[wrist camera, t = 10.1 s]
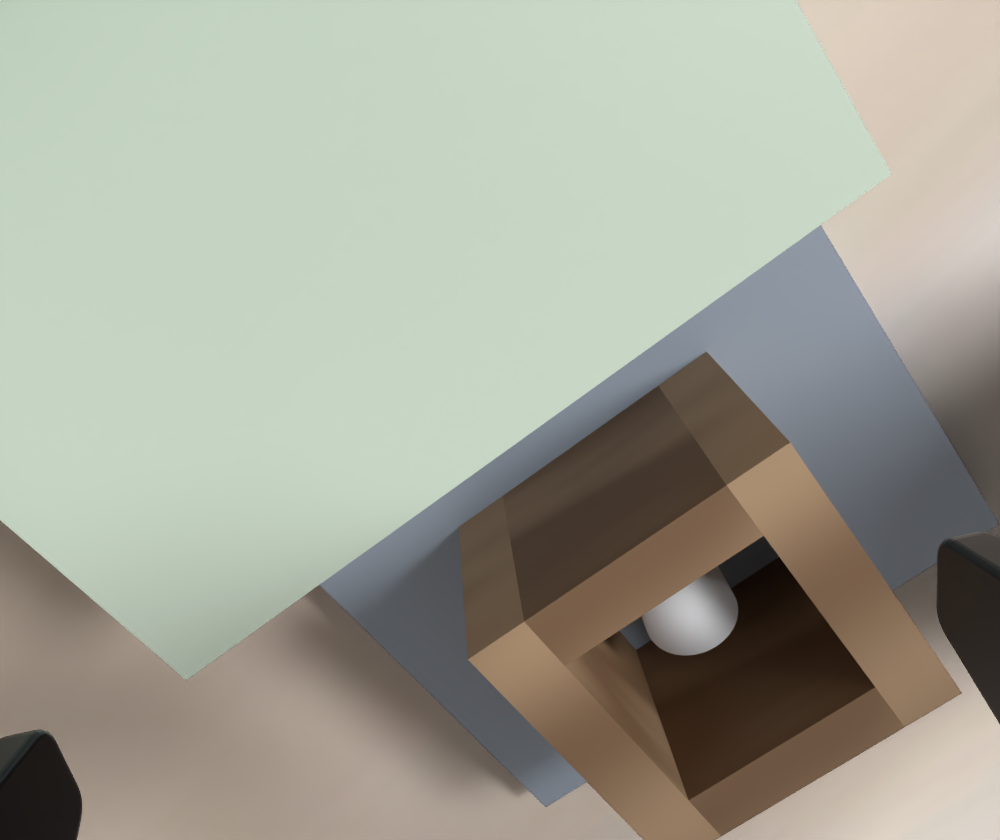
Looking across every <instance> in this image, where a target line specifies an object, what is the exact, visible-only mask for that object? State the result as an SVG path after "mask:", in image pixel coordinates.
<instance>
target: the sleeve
mask: <svg viewBox="0 0 1000 840" xmlns="http://www.w3.org/2000/svg"><path fill="white" fill-rule="evenodd" d="M763 536H764V537H765V538H766V539H767V541H768V542H769V543H770V545H771V546H772V548H773V549H774V550H775V552H776V553H777V554H778V556H779V557H778V558H777V559H775V560H774V561H772V562H771V563H769V564H767V565H766V566H764V567H763V568H761V569H760V570H758V571H757V572H755V573H754V574H752V575H751V576H749V577H747V578H746V579H744V580H743V581H741V582H740V583H738V584H737V585H735V586H734V587H732V588H731V590H732V592H733V594H734V596H735V598H736V600H737V604H738V617H737V621H736V624H735V626H734V628H733V630H732V632H731V633H730V634H729V636H728V637H727V638H726V639H725V640H724V641H723V642H722V643H720V644H719V645H718V646H716V647H714V648H713V649H711V650H709V651H706V652H703V653H700V654H696V655H675V654H671V653H669V652H666V651H664V650H662V649H660V648H659V647H658V646H657V645H656V644H655V643H654V642H653V641H652V640H650V641H649V642H647V643H646V644H644V645H643V646H641V647H640V648H638V649H637V650H636V649H635V648H634V647H633V646H632V645H631V644H630V642H629V641H628V640H627V639H626V638H625V637H624V635H623V634H622V633H621V632H620V631H619V630H621V629H622V628H624V627H626V626H627V625H629V624H630V623H632V622H633V621H635V620H636V619H638V618H639V617H641V616H642V615H644V614H645V613H647V612H648V611H650V610H651V609H653V608H654V607H656V606H657V605H659V604H661V603H662V602H664V601H665V600H667V599H668V598H670V597H671V596H673V595H674V594H676V593H677V592H679V591H680V590H682V589H683V588H685V587H686V586H688V585H689V584H691V583H693V582H694V581H696V580H697V579H699V578H700V577H702V576H703V575H705V574H706V573H708V572H709V571H711V570H712V569H714V568H715V567H717V566H718V565H720V564H721V563H723V562H724V561H726V560H728V559H729V558H731V557H732V556H734V555H735V554H737V553H738V552H740V551H741V550H743V549H744V548H746V547H747V546H749V545H750V544H752V543H753V542H755V541H756V540H758V539H760V538H761V537H763ZM459 538H460V552H461V567H462V581H463V596H464V611H465V625H466V640H467V654H468V660H469V661H470V662H471V663H472V664H473V665H474V666H475V667H476V668H477V669H478V670H479V672H480V673H481V674H482V675H483V676H484V677H485V678H486V679H487V680H488V681H489V682H490V683H491V684H492V685H493V686H494V687H495V688H496V689H497V690H498V691H499V692H500V693H501V694H502V695H503V696H504V697H505V698H506V699H507V700H508V701H509V702H510V703H511V704H512V705H513V706H514V707H515V708H516V709H517V710H518V712H519V713H520V714H521V715H522V716H523V717H524V718H525V719H526V720H527V721H528V722H529V723H530V724H531V725H532V726H533V727H534V728H535V729H536V730H537V731H538V732H539V733H540V734H541V735H542V736H543V737H544V738H545V739H546V740H547V741H548V742H549V743H550V744H551V745H552V746H553V747H554V748H555V749H556V750H557V752H558V753H559V754H560V755H561V756H562V757H563V758H564V759H565V760H566V761H567V762H568V763H569V764H570V765H571V766H572V767H573V768H574V769H575V770H576V771H577V772H578V773H579V774H580V775H581V776H582V777H583V778H584V779H585V780H586V781H587V782H588V783H589V784H590V785H591V786H592V787H593V788H594V789H595V790H596V791H597V793H598V794H599V795H600V796H601V797H602V798H603V799H604V800H605V801H606V802H607V803H608V804H609V805H610V806H611V807H612V808H613V809H614V810H615V811H616V812H617V813H618V814H619V815H620V816H621V817H622V818H623V819H624V820H625V821H626V822H627V823H628V824H629V825H630V826H631V827H632V828H633V829H634V830H635V831H636V833H637V834H638V835H639V836H640V837H641V838H642V839H643V840H716V839H717V838H719V837H721V836H722V835H724V834H726V833H727V832H729V831H731V830H732V829H734V828H736V827H738V826H739V825H741V824H743V823H744V822H746V821H748V820H749V819H751V818H753V817H754V816H756V815H758V814H759V813H761V812H763V811H764V810H766V809H768V808H770V807H771V806H773V805H775V804H776V803H778V802H780V801H781V800H783V799H785V798H786V797H788V796H790V795H791V794H793V793H795V792H796V791H798V790H800V789H802V788H803V787H805V786H807V785H808V784H810V783H812V782H813V781H815V780H817V779H818V778H820V777H822V776H823V775H825V774H827V773H828V772H830V771H832V770H833V769H835V768H837V767H839V766H840V765H842V764H844V763H845V762H847V761H849V760H850V759H852V758H854V757H855V756H857V755H859V754H860V753H862V752H864V751H865V750H867V749H869V748H871V747H872V746H874V745H876V744H877V743H879V742H881V741H882V740H884V739H886V738H887V737H889V736H891V735H892V734H894V733H896V732H897V731H899V730H901V729H903V728H904V727H906V726H908V725H909V724H911V723H913V722H914V721H916V720H918V719H919V718H921V717H923V716H924V715H926V714H928V713H929V712H931V711H933V710H935V709H936V708H938V707H940V706H941V705H943V704H945V703H946V702H948V701H950V700H951V699H953V698H955V697H956V696H958V695H960V694H961V693H962V692H961V691H960V689H959V688H958V686H957V685H956V684H955V682H954V681H953V679H952V678H951V676H950V675H949V673H948V672H947V670H946V669H945V668H944V666H943V665H942V663H941V662H940V660H939V659H938V657H937V656H936V654H935V653H934V651H933V650H932V649H931V647H930V646H929V644H928V643H927V641H926V640H925V638H924V637H923V635H922V634H921V632H920V631H919V630H918V628H917V627H916V625H915V624H914V622H913V621H912V619H911V618H910V616H909V615H908V613H907V612H906V611H905V609H904V608H903V606H902V605H901V603H900V602H899V600H898V599H897V597H896V596H895V595H894V593H893V592H892V590H891V589H890V587H889V586H888V584H887V583H886V581H885V580H884V578H883V577H882V576H881V574H880V573H879V571H878V570H877V568H876V567H875V565H874V564H873V562H872V561H871V559H870V558H869V557H868V555H867V554H866V552H865V551H864V549H863V548H862V546H861V545H860V543H859V542H858V540H857V539H856V538H855V536H854V535H853V533H852V532H851V530H850V529H849V527H848V526H847V524H846V523H845V522H844V520H843V519H842V517H841V516H840V514H839V513H838V511H837V510H836V508H835V507H834V505H833V504H832V503H831V501H830V500H829V498H828V497H827V495H826V494H825V492H824V491H823V489H822V488H821V486H820V485H819V484H818V482H817V481H816V479H815V478H814V476H813V475H812V473H811V472H810V470H809V469H808V467H807V466H806V465H805V463H804V462H803V460H802V459H801V457H800V456H799V454H798V453H797V451H796V450H795V449H794V447H793V446H792V444H791V443H790V442H789V440H788V439H787V438H786V437H785V436H784V435H783V434H782V433H781V432H780V431H779V430H778V428H777V427H776V426H775V425H774V424H773V423H772V422H771V421H770V420H769V419H768V418H767V417H766V415H765V414H764V413H763V412H762V411H761V410H760V409H759V408H758V407H757V406H756V405H755V404H754V402H753V401H752V400H751V399H750V398H749V397H748V396H747V395H746V394H745V393H744V392H743V391H742V389H741V388H740V387H739V386H738V385H737V384H736V383H735V382H734V381H733V380H732V379H731V377H730V376H729V375H728V374H727V373H726V372H725V371H724V370H723V369H722V368H721V367H720V366H719V364H718V363H717V362H716V361H715V360H714V359H713V358H712V357H711V356H710V355H709V354H708V353H707V352H705V353H704V354H702V355H701V356H700V357H698V358H697V359H695V360H694V361H692V362H691V363H690V364H688V365H687V366H685V367H684V368H683V369H681V370H680V371H678V372H677V373H675V374H674V375H673V376H671V377H670V378H668V379H667V380H666V381H664V382H663V383H661V384H660V385H659V386H657V387H656V388H654V389H653V390H651V391H650V392H649V393H647V394H646V395H644V396H643V397H642V398H640V399H639V400H637V401H636V402H635V403H633V404H632V405H630V406H629V407H627V408H626V409H625V410H623V411H622V412H620V413H619V414H618V415H616V416H615V417H613V418H612V419H611V420H609V421H608V422H606V423H605V424H603V425H602V426H601V427H599V428H598V429H596V430H595V431H594V432H592V433H591V434H589V435H588V436H586V437H585V438H584V439H582V440H581V441H579V442H578V443H577V444H575V445H574V446H572V447H571V448H570V449H568V450H567V451H565V452H564V453H562V454H561V455H560V456H558V457H557V458H555V459H554V460H553V461H551V462H550V463H548V464H547V465H546V466H544V467H543V468H541V469H540V470H538V471H537V472H536V473H534V474H533V475H531V476H530V477H529V478H527V479H526V480H524V481H523V482H522V483H520V484H519V485H517V486H516V487H514V488H513V489H512V490H510V491H509V492H507V493H506V494H505V495H503V496H502V497H500V498H499V499H498V500H496V501H495V502H493V503H492V504H490V505H489V506H488V507H486V508H485V509H483V510H482V511H481V512H479V513H478V514H476V515H475V516H473V517H472V518H471V519H469V520H468V521H466V522H465V523H464V524H462V525H461V526H459Z"/></svg>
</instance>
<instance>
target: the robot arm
mask: <svg viewBox="0 0 1000 840" xmlns="http://www.w3.org/2000/svg"><path fill="white" fill-rule="evenodd" d="M937 614H938V618H939V622H940V624H941V627H942V629H943V631H944V633H945V635H946V636H947V638H948V640H949V641H950V643H951V645H952V646H953V648H954V650H955V651H956V653H957V654H958V656H959V658H960V659H961V661H962V663H963V664H964V666H965V668H966V669H967V671H968V673H969V674H970V676H971V678H972V679H973V681H974V682H975V684H976V686H977V687H978V689H979V691H980V692H981V694H982V696H983V697H984V699H985V701H986V702H987V704H988V705H989V707H990V709H991V710H992V712H993V714H994V715H995V717H996V719H997V720H998V722H999V724H1000V536H996V535H993V534H990V533H986V532H975V533H970V534H965V535H961V536H956V537H951V538H947V539H945V540H944V541H943V542H941V544H940V545H939V548H938V552H937ZM81 815H82V799H81V794H80V790H79V788H78V785H77V783H76V781H75V779H74V777H73V775H72V773H71V771H70V769H69V767H68V765H67V763H66V761H65V759H64V757H63V755H62V753H61V751H60V749H59V747H58V744H57V742H56V741H55V739H54V737H53V736H52V735H51V734H50V733H49V732H47V731H45V730H41V729H40V730H33V731H29V732H24V733H19V734H14V735H10V736H6V737H3V738H1V739H0V840H77V837H78V832H79V827H80V821H81Z"/></svg>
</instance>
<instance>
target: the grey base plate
mask: <svg viewBox="0 0 1000 840" xmlns="http://www.w3.org/2000/svg"><path fill="white" fill-rule="evenodd" d="M705 352H707V353H708V354H709V355H710V356H711V357H712V358H713V359H714V360H715V361H716V362H717V363H718V364H719V366H720V367H721V368H722V369H723V370H724V371H725V372H726V373H727V374H728V375H729V376H730V377H731V379H732V380H733V381H734V382H735V383H736V384H737V385H738V386H739V387H740V388H741V389H742V391H743V392H744V393H745V394H746V395H747V396H748V397H749V398H750V399H751V400H752V401H753V402H754V404H755V405H756V406H757V407H758V408H759V409H760V410H761V411H762V412H763V413H764V414H765V415H766V417H767V418H768V419H769V420H770V421H771V422H772V423H773V424H774V425H775V426H776V427H777V428H778V430H779V431H780V432H781V433H782V434H783V435H784V436H785V437H786V438H787V439H788V440H789V442H790V443H791V444H792V446H793V447H794V449H795V450H796V451H797V453H798V454H799V456H800V457H801V459H802V460H803V462H804V463H805V465H806V466H807V467H808V469H809V470H810V472H811V473H812V475H813V476H814V478H815V479H816V481H817V482H818V484H819V485H820V486H821V488H822V489H823V491H824V492H825V494H826V495H827V497H828V498H829V500H830V501H831V503H832V504H833V505H834V507H835V508H836V510H837V511H838V513H839V514H840V516H841V517H842V519H843V520H844V522H845V523H846V524H847V526H848V527H849V529H850V530H851V532H852V533H853V535H854V536H855V538H856V539H857V540H858V542H859V543H860V545H861V546H862V548H863V549H864V551H865V552H866V554H867V555H868V557H869V558H870V559H871V561H872V562H873V564H874V565H875V567H876V568H877V570H878V571H879V573H880V574H881V576H882V577H883V578H884V580H885V581H886V583H887V584H888V586H889V587H890V589H891V590H892V591H893V590H894V589H896V588H897V587H899V586H901V585H902V584H904V583H905V582H907V581H909V580H910V579H912V578H913V577H915V576H917V575H918V574H920V573H921V572H923V571H925V570H926V569H928V568H929V567H931V566H933V565H934V564H936V563H937V552H938V548H939V545H940V544H941V542H943V541H944V540H945V539H947V538H951V537H956V536H961V535H965V534H970V533H975V532H987V531H989V530H990V529H992V528H993V527H995V526H997V525H998V524H999V523H998V521H997V519H996V518H995V516H994V514H993V513H992V511H991V509H990V508H989V506H988V504H987V503H986V501H985V499H984V498H983V496H982V494H981V493H980V491H979V489H978V488H977V486H976V484H975V483H974V481H973V479H972V477H971V476H970V474H969V472H968V471H967V469H966V467H965V466H964V464H963V462H962V461H961V459H960V457H959V456H958V454H957V452H956V451H955V449H954V447H953V446H952V444H951V442H950V441H949V439H948V437H947V436H946V434H945V432H944V431H943V429H942V427H941V426H940V424H939V422H938V421H937V419H936V417H935V416H934V414H933V412H932V411H931V409H930V407H929V405H928V404H927V402H926V400H925V399H924V397H923V395H922V394H921V392H920V390H919V389H918V387H917V385H916V384H915V382H914V380H913V379H912V377H911V375H910V374H909V372H908V370H907V369H906V367H905V365H904V364H903V362H902V360H901V359H900V357H899V355H898V354H897V352H896V350H895V349H894V347H893V345H892V344H891V342H890V340H889V339H888V337H887V335H886V333H885V332H884V330H883V328H882V327H881V325H880V323H879V322H878V320H877V318H876V317H875V315H874V313H873V312H872V310H871V308H870V307H869V305H868V303H867V302H866V300H865V298H864V297H863V295H862V293H861V292H860V290H859V288H858V287H857V285H856V283H855V282H854V280H853V278H852V277H851V275H850V273H849V272H848V270H847V268H846V267H845V265H844V263H843V262H842V260H841V258H840V256H839V255H838V253H837V251H836V250H835V248H834V246H833V245H832V243H831V241H830V240H829V238H828V236H827V235H826V233H825V231H824V230H823V228H822V226H821V225H820V226H818V227H817V228H816V229H814V230H813V231H812V232H810V233H809V234H807V235H806V236H805V237H803V238H802V239H800V240H799V241H798V242H796V243H795V244H793V245H792V246H791V247H789V248H788V249H786V250H785V251H784V252H782V253H781V254H779V255H778V256H777V257H775V258H774V259H772V260H771V261H770V262H768V263H767V264H766V265H764V266H763V267H761V268H760V269H759V270H757V271H756V272H754V273H753V274H752V275H750V276H749V277H747V278H746V279H745V280H743V281H742V282H740V283H739V284H738V285H736V286H735V287H733V288H732V289H731V290H729V291H728V292H727V293H725V294H724V295H722V296H721V297H720V298H718V299H717V300H715V301H714V302H713V303H711V304H710V305H708V306H707V307H706V308H704V309H703V310H701V311H700V312H699V313H697V314H696V315H694V316H693V317H692V318H690V319H689V320H688V321H686V322H685V323H683V324H682V325H681V326H679V327H678V328H676V329H675V330H674V331H672V332H671V333H669V334H668V335H667V336H665V337H664V338H662V339H661V340H660V341H658V342H657V343H655V344H654V345H653V346H651V347H650V348H648V349H647V350H646V351H644V352H643V353H642V354H640V355H639V356H637V357H636V358H635V359H633V360H632V361H630V362H629V363H628V364H626V365H625V366H623V367H622V368H621V369H619V370H618V371H616V372H615V373H614V374H612V375H611V376H609V377H608V378H607V379H605V380H604V381H603V382H601V383H600V384H598V385H597V386H596V387H594V388H593V389H591V390H590V391H589V392H587V393H586V394H584V395H583V396H582V397H580V398H579V399H577V400H576V401H575V402H573V403H572V404H570V405H569V406H568V407H566V408H565V409H564V410H562V411H561V412H559V413H558V414H557V415H555V416H554V417H552V418H551V419H550V420H548V421H547V422H545V423H544V424H543V425H541V426H540V427H538V428H537V429H536V430H534V431H533V432H531V433H530V434H529V435H527V436H526V437H524V438H523V439H522V440H520V441H519V442H518V443H516V444H515V445H513V446H512V447H511V448H509V449H508V450H506V451H505V452H504V453H502V454H501V455H499V456H498V457H497V458H495V459H494V460H492V461H491V462H490V463H488V464H487V465H485V466H484V467H483V468H481V469H480V470H479V471H477V472H476V473H474V474H473V475H472V476H470V477H469V478H467V479H466V480H465V481H463V482H462V483H460V484H459V485H458V486H456V487H455V488H453V489H452V490H451V491H449V492H448V493H446V494H445V495H444V496H442V497H441V498H440V499H438V500H437V501H435V502H434V503H433V504H431V505H430V506H428V507H427V508H426V509H424V510H423V511H421V512H420V513H419V514H417V515H416V516H414V517H413V518H412V519H410V520H409V521H407V522H406V523H405V524H403V525H402V526H400V527H399V528H398V529H396V530H395V531H394V532H392V533H391V534H389V535H388V536H387V537H385V538H384V539H382V540H381V541H380V542H378V543H377V544H375V545H374V546H373V547H371V548H370V549H368V550H367V551H366V552H364V553H363V554H361V555H360V556H359V557H357V558H356V559H355V560H353V561H352V562H350V563H349V564H348V565H346V566H345V567H343V568H342V569H341V570H339V571H338V572H336V573H335V574H334V575H332V576H331V577H329V578H328V579H327V580H325V581H324V582H322V583H321V584H320V586H321V587H322V588H323V589H324V590H325V591H326V592H327V593H328V594H329V595H330V596H331V597H332V598H333V599H334V600H335V601H336V602H337V603H338V604H339V605H340V606H341V607H342V608H343V609H344V610H345V611H346V612H347V613H348V614H349V615H350V616H351V617H353V618H354V619H355V620H356V621H357V622H358V623H359V624H360V625H361V626H362V627H363V628H364V629H365V630H366V631H367V632H368V633H369V634H370V635H371V636H372V637H373V638H374V639H375V640H376V641H377V642H378V643H379V644H380V645H381V646H382V647H383V648H384V649H385V650H386V651H387V652H388V653H389V654H390V655H391V656H392V657H393V658H394V659H395V660H396V661H397V662H398V663H399V664H400V665H401V666H402V667H403V668H404V669H405V670H407V671H408V672H409V673H410V674H411V675H412V676H413V677H414V678H415V679H416V680H417V681H418V682H419V683H420V684H421V685H422V686H423V687H424V688H425V689H426V690H427V691H428V692H429V693H430V694H431V695H432V696H433V697H434V698H435V699H436V700H437V701H438V702H439V703H440V704H441V705H442V706H443V707H444V708H445V709H446V710H447V711H448V712H449V713H450V714H451V715H452V716H453V717H454V718H455V719H456V720H457V721H458V722H460V723H461V724H462V725H463V726H464V727H465V728H466V729H467V730H468V731H469V732H470V733H471V734H472V735H473V736H474V737H475V738H476V739H477V740H478V741H479V742H480V743H481V744H482V745H483V746H484V747H485V748H486V749H487V750H488V751H489V752H490V753H491V754H492V755H493V756H494V757H495V758H496V759H497V760H498V761H499V762H500V763H501V764H502V765H503V766H504V767H505V768H506V769H507V770H508V771H509V772H510V773H511V774H512V775H514V776H515V777H516V778H517V779H518V780H519V781H520V782H521V783H522V784H523V785H524V786H525V787H526V788H527V789H528V790H529V791H530V792H531V793H532V794H533V795H534V796H535V797H536V798H537V799H538V800H539V801H540V802H541V803H542V804H543V805H544V806H545V807H547V806H549V805H550V804H552V803H554V802H555V801H557V800H558V799H560V798H562V797H563V796H565V795H566V794H568V793H570V792H571V791H573V790H574V789H576V788H578V787H579V786H581V785H582V784H584V783H586V782H587V781H586V780H585V779H584V778H583V777H582V776H581V775H580V774H579V773H578V772H577V771H576V770H575V769H574V768H573V767H572V766H571V765H570V764H569V763H568V762H567V761H566V760H565V759H564V758H563V757H562V756H561V755H560V754H559V753H558V752H557V750H556V749H555V748H554V747H553V746H552V745H551V744H550V743H549V742H548V741H547V740H546V739H545V738H544V737H543V736H542V735H541V734H540V733H539V732H538V731H537V730H536V729H535V728H534V727H533V726H532V725H531V724H530V723H529V722H528V721H527V720H526V719H525V718H524V717H523V716H522V715H521V714H520V713H519V712H518V710H517V709H516V708H515V707H514V706H513V705H512V704H511V703H510V702H509V701H508V700H507V699H506V698H505V697H504V696H503V695H502V694H501V693H500V692H499V691H498V690H497V689H496V688H495V687H494V686H493V685H492V684H491V683H490V682H489V681H488V680H487V679H486V678H485V677H484V676H483V675H482V674H481V673H480V672H479V670H478V669H477V668H476V667H475V666H474V665H473V664H472V663H471V662H470V661H469V660H468V654H467V640H466V625H465V611H464V596H463V581H462V567H461V552H460V538H459V526H461V525H462V524H464V523H465V522H466V521H468V520H469V519H471V518H472V517H473V516H475V515H476V514H478V513H479V512H481V511H482V510H483V509H485V508H486V507H488V506H489V505H490V504H492V503H493V502H495V501H496V500H498V499H499V498H500V497H502V496H503V495H505V494H506V493H507V492H509V491H510V490H512V489H513V488H514V487H516V486H517V485H519V484H520V483H522V482H523V481H524V480H526V479H527V478H529V477H530V476H531V475H533V474H534V473H536V472H537V471H538V470H540V469H541V468H543V467H544V466H546V465H547V464H548V463H550V462H551V461H553V460H554V459H555V458H557V457H558V456H560V455H561V454H562V453H564V452H565V451H567V450H568V449H570V448H571V447H572V446H574V445H575V444H577V443H578V442H579V441H581V440H582V439H584V438H585V437H586V436H588V435H589V434H591V433H592V432H594V431H595V430H596V429H598V428H599V427H601V426H602V425H603V424H605V423H606V422H608V421H609V420H611V419H612V418H613V417H615V416H616V415H618V414H619V413H620V412H622V411H623V410H625V409H626V408H627V407H629V406H630V405H632V404H633V403H635V402H636V401H637V400H639V399H640V398H642V397H643V396H644V395H646V394H647V393H649V392H650V391H651V390H653V389H654V388H656V387H657V386H659V385H660V384H661V383H663V382H664V381H666V380H667V379H668V378H670V377H671V376H673V375H674V374H675V373H677V372H678V371H680V370H681V369H683V368H684V367H685V366H687V365H688V364H690V363H691V362H692V361H694V360H695V359H697V358H698V357H700V356H701V355H702V354H704V353H705ZM778 557H779V556H778V554H777V553H776V552H775V550H774V549H773V548H772V546H771V545H770V543H769V542H768V541H767V539H766V538H765V537H764V536H763V537H761V538H760V539H758V540H756V541H755V542H753V543H752V544H750V545H749V546H747V547H746V548H744V549H743V550H741V551H740V552H738V553H737V554H735V555H734V556H732V557H731V558H729V559H728V560H726V561H724V562H723V563H721V564H720V565H718V566H717V567H715V568H714V569H712V570H711V571H709V572H708V573H706V574H705V575H703V576H702V577H700V578H699V579H697V580H696V581H694V582H693V583H691V584H689V585H688V586H686V587H685V588H683V589H682V590H680V591H679V592H677V593H676V594H674V595H673V596H671V597H670V598H668V599H667V600H665V601H664V602H662V603H661V604H659V605H657V606H656V607H654V608H653V609H651V610H650V611H648V612H647V613H645V614H644V615H642V616H641V617H639V618H638V619H636V620H635V621H633V622H632V623H630V624H629V625H627V626H626V627H624V628H622V629H621V630H619V631H620V632H621V633H622V634H623V635H624V637H625V638H626V639H627V640H628V641H629V642H630V644H631V645H632V646H633V647H634V648H635V649H636V650H637V649H638V648H640V647H641V646H643V645H644V644H646V643H647V642H649V641H650V640H652V641H653V642H654V643H655V644H656V645H657V646H658V647H659V648H660V649H662V650H664V651H666V652H669V653H671V654H675V655H696V654H700V653H703V652H706V651H709V650H711V649H713V648H714V647H716V646H718V645H719V644H720V643H722V642H723V641H724V640H725V639H726V638H727V637H728V636H729V634H730V633H731V632H732V630H733V628H734V626H735V624H736V621H737V617H738V604H737V600H736V598H735V596H734V594H733V592H732V590H731V588H732V587H734V586H735V585H737V584H738V583H740V582H741V581H743V580H744V579H746V578H747V577H749V576H751V575H752V574H754V573H755V572H757V571H758V570H760V569H761V568H763V567H764V566H766V565H767V564H769V563H771V562H772V561H774V560H775V559H777V558H778Z"/></svg>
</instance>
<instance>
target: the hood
mask: <svg viewBox="0 0 1000 840" xmlns="http://www.w3.org/2000/svg"><path fill="white" fill-rule="evenodd" d="M890 175H891V172H890V170H889V168H888V166H887V164H886V163H885V161H884V159H883V157H882V155H881V154H880V152H879V150H878V148H877V146H876V144H875V143H874V141H873V139H872V137H871V135H870V133H869V132H868V130H867V128H866V126H865V124H864V123H863V121H862V119H861V117H860V115H859V113H858V112H857V110H856V108H855V106H854V104H853V103H852V101H851V99H850V97H849V95H848V93H847V92H846V90H845V88H844V86H843V84H842V83H841V81H840V79H839V77H838V75H837V73H836V72H835V70H834V68H833V66H832V64H831V62H830V61H829V59H828V57H827V55H826V53H825V52H824V50H823V48H822V46H821V44H820V42H819V41H818V39H817V37H816V35H815V33H814V32H813V30H812V28H811V26H810V24H809V22H808V21H807V19H806V17H805V15H804V13H803V11H802V10H801V8H800V6H799V4H798V2H797V1H796V0H0V521H2V522H3V523H4V524H5V525H6V526H7V527H9V528H10V529H11V530H12V531H13V532H14V533H16V534H17V535H18V536H19V537H20V538H21V539H23V540H24V541H25V542H26V543H27V544H28V545H30V546H31V547H32V548H33V549H34V550H35V551H37V552H38V553H39V554H40V555H41V556H42V557H43V558H45V559H46V560H47V561H48V562H49V563H50V564H52V565H53V566H54V567H55V568H56V569H57V570H59V571H60V572H61V573H62V574H63V575H64V576H66V577H67V578H68V579H69V580H70V581H71V582H73V583H74V584H75V585H76V586H77V587H78V588H80V589H81V590H82V591H83V592H84V593H85V594H87V595H88V596H89V597H90V598H91V599H92V600H93V601H95V602H96V603H97V604H98V605H99V606H100V607H102V608H103V609H104V610H105V611H106V612H107V613H109V614H110V615H111V616H112V617H113V618H114V619H116V620H117V621H118V622H119V623H120V624H121V625H123V626H124V627H125V628H126V629H127V630H128V631H130V632H131V633H132V634H133V635H134V636H135V637H137V638H138V639H139V640H140V641H141V642H142V643H143V644H145V645H146V646H147V647H148V648H149V649H150V650H152V651H153V652H154V653H155V654H156V655H157V656H159V657H160V658H161V659H162V660H163V661H164V662H166V663H167V664H168V665H169V666H170V667H171V668H173V669H174V670H175V671H176V672H177V673H178V674H180V675H181V676H182V677H183V678H184V679H185V680H187V679H189V678H190V677H192V676H193V675H194V674H196V673H197V672H198V671H200V670H201V669H203V668H204V667H205V666H207V665H208V664H210V663H211V662H212V661H214V660H215V659H217V658H218V657H219V656H221V655H222V654H224V653H225V652H226V651H228V650H229V649H231V648H232V647H233V646H235V645H236V644H237V643H239V642H240V641H242V640H243V639H244V638H246V637H247V636H249V635H250V634H251V633H253V632H254V631H256V630H257V629H258V628H260V627H261V626H263V625H264V624H265V623H267V622H268V621H270V620H271V619H272V618H274V617H275V616H276V615H278V614H279V613H281V612H282V611H283V610H285V609H286V608H288V607H289V606H290V605H292V604H293V603H295V602H296V601H297V600H299V599H300V598H302V597H303V596H304V595H306V594H307V593H309V592H310V591H311V590H313V589H314V588H316V587H317V586H318V585H320V584H321V583H322V582H324V581H325V580H327V579H328V578H329V577H331V576H332V575H334V574H335V573H336V572H338V571H339V570H341V569H342V568H343V567H345V566H346V565H348V564H349V563H350V562H352V561H353V560H355V559H356V558H357V557H359V556H360V555H361V554H363V553H364V552H366V551H367V550H368V549H370V548H371V547H373V546H374V545H375V544H377V543H378V542H380V541H381V540H382V539H384V538H385V537H387V536H388V535H389V534H391V533H392V532H394V531H395V530H396V529H398V528H399V527H400V526H402V525H403V524H405V523H406V522H407V521H409V520H410V519H412V518H413V517H414V516H416V515H417V514H419V513H420V512H421V511H423V510H424V509H426V508H427V507H428V506H430V505H431V504H433V503H434V502H435V501H437V500H438V499H440V498H441V497H442V496H444V495H445V494H446V493H448V492H449V491H451V490H452V489H453V488H455V487H456V486H458V485H459V484H460V483H462V482H463V481H465V480H466V479H467V478H469V477H470V476H472V475H473V474H474V473H476V472H477V471H479V470H480V469H481V468H483V467H484V466H485V465H487V464H488V463H490V462H491V461H492V460H494V459H495V458H497V457H498V456H499V455H501V454H502V453H504V452H505V451H506V450H508V449H509V448H511V447H512V446H513V445H515V444H516V443H518V442H519V441H520V440H522V439H523V438H524V437H526V436H527V435H529V434H530V433H531V432H533V431H534V430H536V429H537V428H538V427H540V426H541V425H543V424H544V423H545V422H547V421H548V420H550V419H551V418H552V417H554V416H555V415H557V414H558V413H559V412H561V411H562V410H564V409H565V408H566V407H568V406H569V405H570V404H572V403H573V402H575V401H576V400H577V399H579V398H580V397H582V396H583V395H584V394H586V393H587V392H589V391H590V390H591V389H593V388H594V387H596V386H597V385H598V384H600V383H601V382H603V381H604V380H605V379H607V378H608V377H609V376H611V375H612V374H614V373H615V372H616V371H618V370H619V369H621V368H622V367H623V366H625V365H626V364H628V363H629V362H630V361H632V360H633V359H635V358H636V357H637V356H639V355H640V354H642V353H643V352H644V351H646V350H647V349H648V348H650V347H651V346H653V345H654V344H655V343H657V342H658V341H660V340H661V339H662V338H664V337H665V336H667V335H668V334H669V333H671V332H672V331H674V330H675V329H676V328H678V327H679V326H681V325H682V324H683V323H685V322H686V321H688V320H689V319H690V318H692V317H693V316H694V315H696V314H697V313H699V312H700V311H701V310H703V309H704V308H706V307H707V306H708V305H710V304H711V303H713V302H714V301H715V300H717V299H718V298H720V297H721V296H722V295H724V294H725V293H727V292H728V291H729V290H731V289H732V288H733V287H735V286H736V285H738V284H739V283H740V282H742V281H743V280H745V279H746V278H747V277H749V276H750V275H752V274H753V273H754V272H756V271H757V270H759V269H760V268H761V267H763V266H764V265H766V264H767V263H768V262H770V261H771V260H772V259H774V258H775V257H777V256H778V255H779V254H781V253H782V252H784V251H785V250H786V249H788V248H789V247H791V246H792V245H793V244H795V243H796V242H798V241H799V240H800V239H802V238H803V237H805V236H806V235H807V234H809V233H810V232H812V231H813V230H814V229H816V228H817V227H818V226H820V225H821V224H823V223H824V222H825V221H827V220H828V219H830V218H831V217H832V216H834V215H835V214H837V213H838V212H839V211H841V210H842V209H844V208H845V207H846V206H848V205H849V204H851V203H852V202H853V201H855V200H856V199H857V198H859V197H860V196H862V195H863V194H864V193H866V192H867V191H869V190H870V189H871V188H873V187H874V186H876V185H877V184H878V183H880V182H881V181H883V180H884V179H885V178H887V177H888V176H890Z"/></svg>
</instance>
